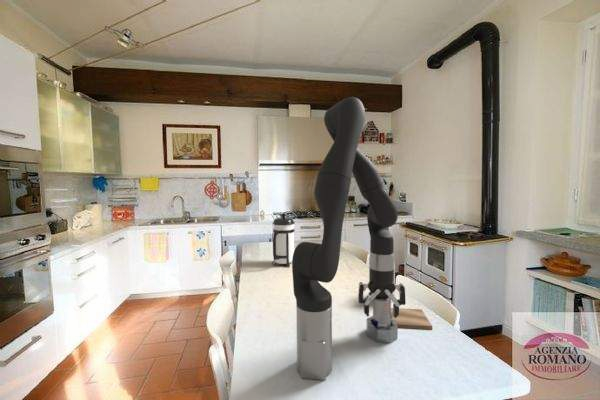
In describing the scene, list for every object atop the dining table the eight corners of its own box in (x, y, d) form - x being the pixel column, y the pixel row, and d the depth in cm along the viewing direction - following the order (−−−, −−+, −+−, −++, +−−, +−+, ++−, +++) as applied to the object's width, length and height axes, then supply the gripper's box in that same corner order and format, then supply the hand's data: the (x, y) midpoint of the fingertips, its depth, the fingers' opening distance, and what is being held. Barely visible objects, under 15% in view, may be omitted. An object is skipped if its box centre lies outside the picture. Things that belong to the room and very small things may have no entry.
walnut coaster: (432, 329, 91) (432, 326, 91) (394, 327, 93) (394, 324, 93) (421, 312, 103) (421, 309, 103) (388, 310, 105) (388, 307, 105)
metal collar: (399, 343, 84) (399, 330, 83) (368, 341, 85) (368, 329, 85) (393, 327, 93) (393, 316, 92) (365, 326, 94) (365, 314, 94)
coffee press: (267, 261, 169) (266, 212, 167) (292, 259, 174) (292, 211, 171) (273, 270, 152) (272, 216, 150) (301, 267, 157) (300, 214, 155)
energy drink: (377, 328, 93) (377, 293, 92) (392, 333, 89) (393, 297, 88) (370, 335, 88) (370, 298, 88) (386, 341, 85) (386, 303, 84)
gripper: (359, 269, 85) (359, 320, 86) (408, 270, 83) (407, 323, 84) (357, 262, 92) (357, 309, 93) (402, 263, 90) (401, 311, 92)
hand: (381, 315), depth 89 cm, fingers open, 8 cm apart
